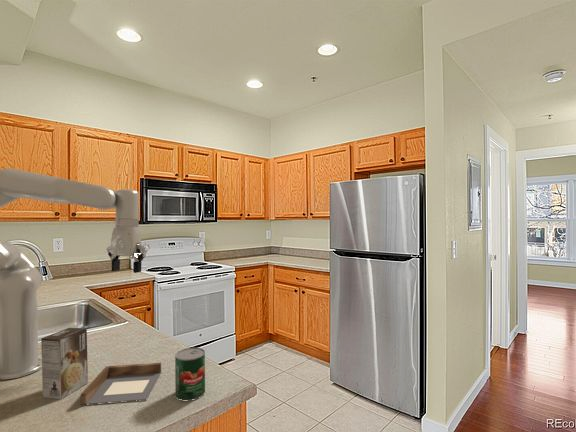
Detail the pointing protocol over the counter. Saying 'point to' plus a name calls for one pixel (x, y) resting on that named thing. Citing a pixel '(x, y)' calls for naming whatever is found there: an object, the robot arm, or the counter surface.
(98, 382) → the corner walls
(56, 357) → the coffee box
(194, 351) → the canned tomato
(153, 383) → the corner mat
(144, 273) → the counter surface
